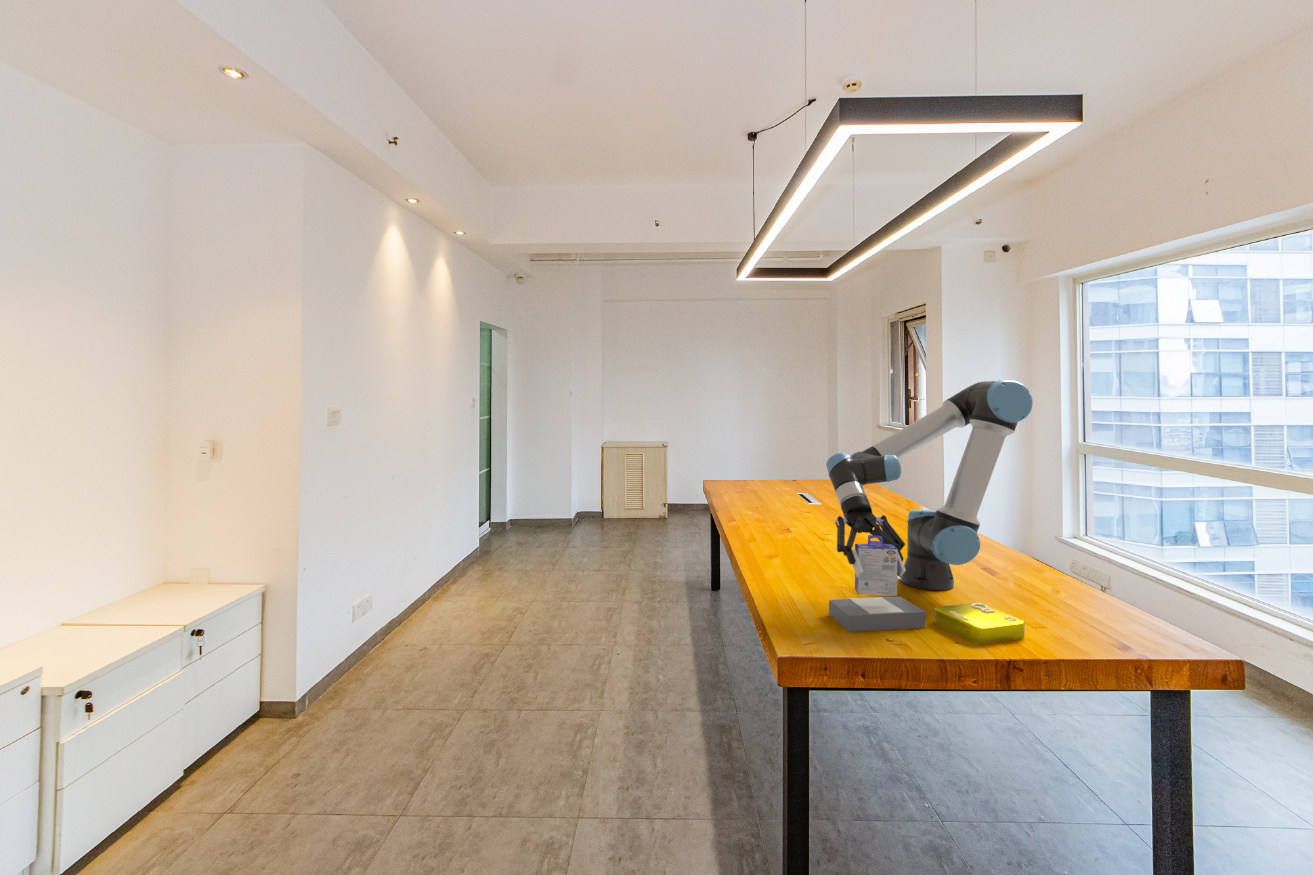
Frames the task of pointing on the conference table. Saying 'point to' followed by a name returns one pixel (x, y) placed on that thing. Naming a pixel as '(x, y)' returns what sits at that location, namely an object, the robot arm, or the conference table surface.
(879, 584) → the ink cartridge box
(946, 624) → the element tile
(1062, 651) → the conference table surface
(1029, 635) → the conference table surface
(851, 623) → the grey flat block
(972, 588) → the conference table surface
